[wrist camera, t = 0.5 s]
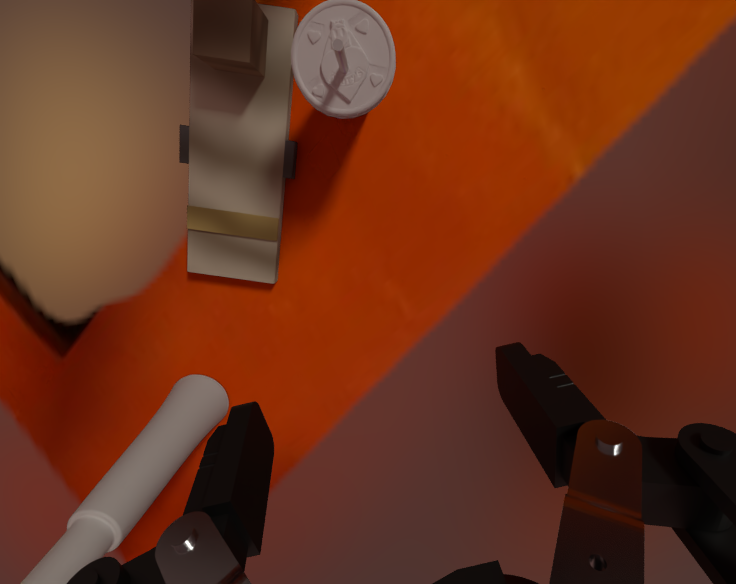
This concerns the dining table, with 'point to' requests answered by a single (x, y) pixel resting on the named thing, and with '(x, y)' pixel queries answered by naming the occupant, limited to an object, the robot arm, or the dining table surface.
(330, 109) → the white drink cup
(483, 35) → the dining table surface
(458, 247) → the dining table surface
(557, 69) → the dining table surface
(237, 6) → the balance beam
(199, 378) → the cosmetic bottle
